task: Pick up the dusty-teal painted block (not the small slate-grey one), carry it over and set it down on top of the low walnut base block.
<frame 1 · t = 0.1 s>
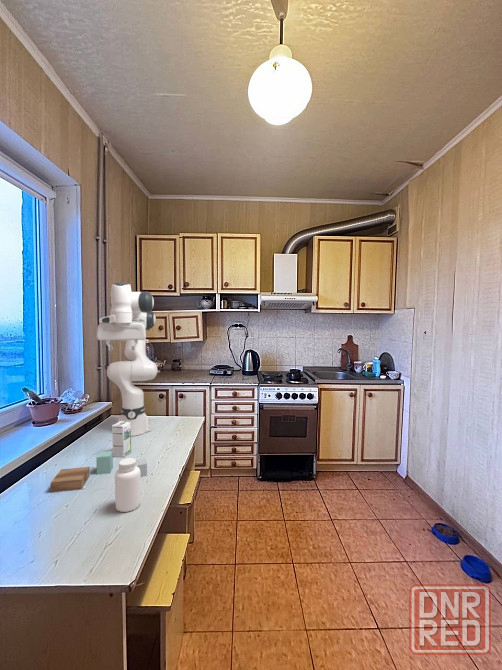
hand: (122, 350, 138), 48 cm above the table, fingers open, 8 cm apart
pill bottle: (128, 506, 103), on the table
grey block: (139, 474, 124), on the table
syrup box: (122, 454, 142), on the table
base block: (71, 484, 117), on the table
teal block: (105, 470, 127), on the table
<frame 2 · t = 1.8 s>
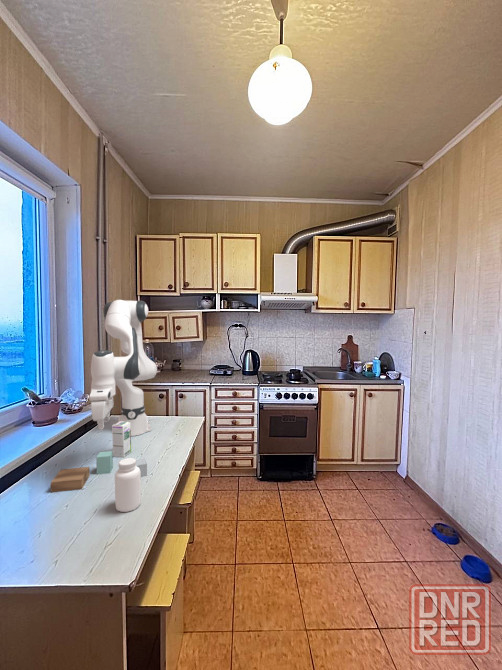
hand: (104, 425, 126), 19 cm above the table, fingers open, 8 cm apart
nothing on the table moved.
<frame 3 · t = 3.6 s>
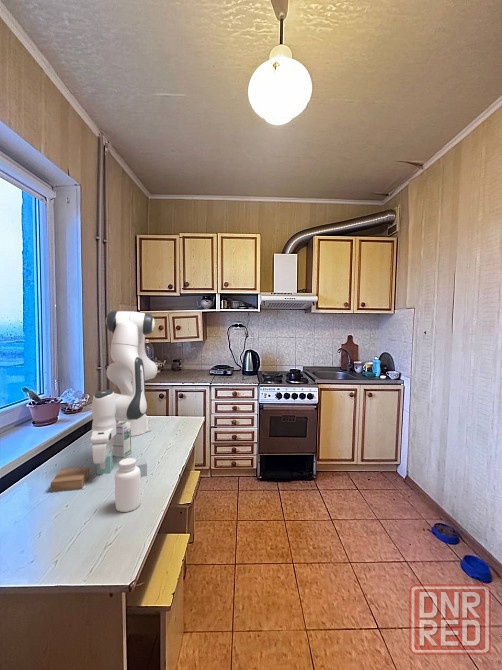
hand: (104, 464, 126), 3 cm above the table, fingers closed on teal block, 5 cm apart
teal block: (105, 470, 127), on the table, touching gripper
everything else where it was.
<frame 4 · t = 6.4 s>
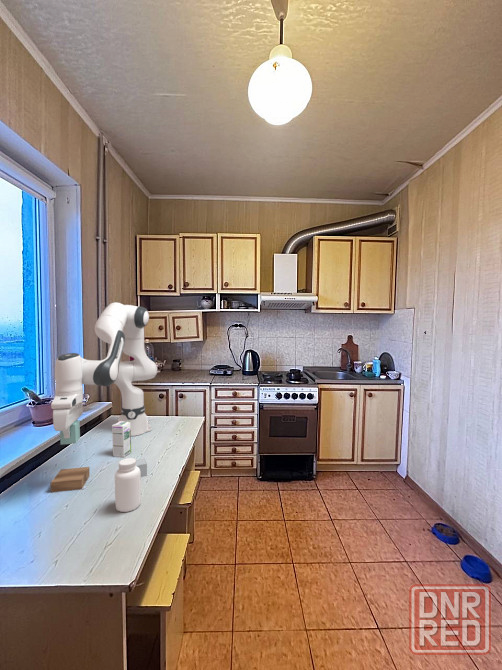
hand: (70, 434, 116), 19 cm above the table, fingers closed on teal block, 5 cm apart
teal block: (70, 441, 116), point 16 cm above the table, touching gripper
everything else where it was.
when the fingers open (8 cm above the table, at t = 8.8 s): teal block drops 1 cm, point 4 cm above the table.
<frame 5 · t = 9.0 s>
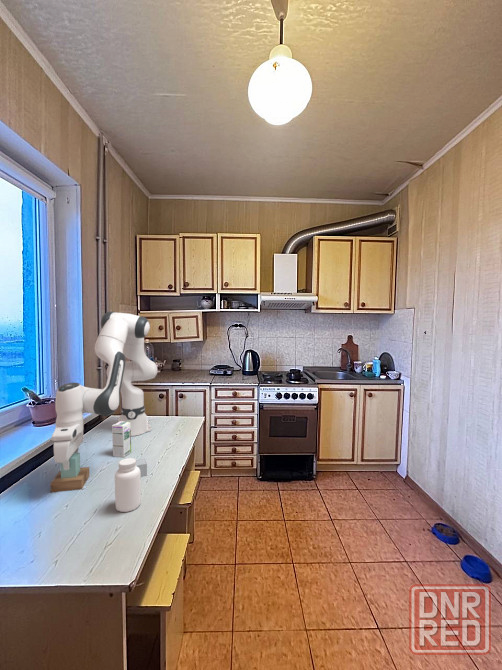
hand: (70, 463, 116), 8 cm above the table, fingers open, 7 cm apart
teal block: (70, 474, 116), point 4 cm above the table
everything else where it was.
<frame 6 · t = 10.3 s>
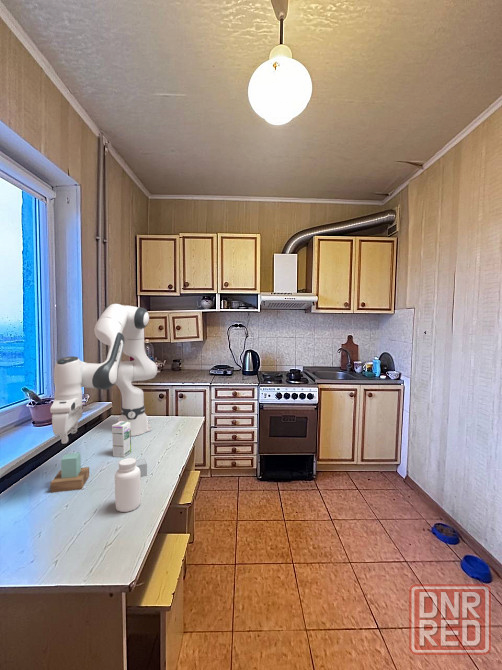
hand: (69, 437, 116), 17 cm above the table, fingers open, 8 cm apart
nothing on the table moved.
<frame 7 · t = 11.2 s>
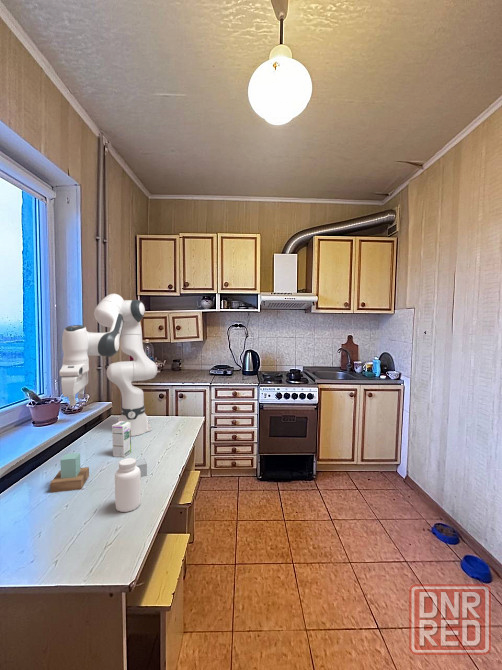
hand: (77, 401, 123), 29 cm above the table, fingers open, 8 cm apart
base block: (70, 485, 116), on the table, touching teal block
teal block: (70, 474, 116), point 4 cm above the table, touching base block
everything else where it was.
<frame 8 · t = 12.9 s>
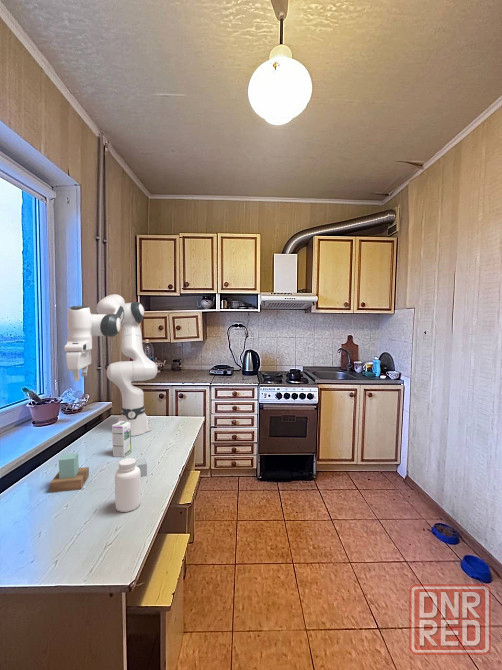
hand: (80, 378, 128), 37 cm above the table, fingers open, 8 cm apart
base block: (70, 485, 116), on the table
teal block: (69, 474, 116), point 4 cm above the table
everything else where it was.
at the end: teal block inside the target area on the base block (0.3 cm from its centre), point 4.0 cm above the base block's base; teal block tilted 0°; the gripper is holding nothing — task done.
